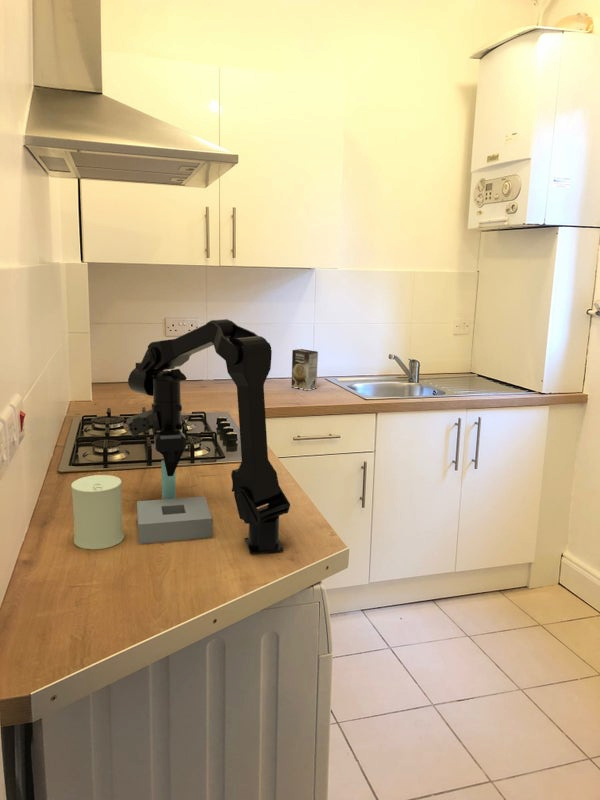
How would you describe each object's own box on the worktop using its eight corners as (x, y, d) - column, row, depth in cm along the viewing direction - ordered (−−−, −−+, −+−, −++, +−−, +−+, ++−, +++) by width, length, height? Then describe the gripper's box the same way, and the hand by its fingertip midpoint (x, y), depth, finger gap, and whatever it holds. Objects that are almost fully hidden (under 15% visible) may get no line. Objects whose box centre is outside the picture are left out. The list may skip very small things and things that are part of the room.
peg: (176, 506, 141) (175, 463, 139) (162, 507, 141) (161, 463, 138) (175, 501, 144) (174, 458, 142) (161, 502, 143) (160, 459, 141)
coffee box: (290, 388, 271) (291, 349, 267) (300, 385, 275) (301, 348, 272) (307, 391, 265) (308, 352, 261) (317, 389, 270) (318, 350, 266)
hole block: (212, 537, 126) (212, 518, 125) (139, 544, 123) (138, 524, 122) (204, 513, 138) (204, 496, 137) (137, 519, 134) (136, 501, 133)
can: (76, 553, 119) (72, 491, 116) (72, 533, 127) (68, 475, 124) (127, 545, 122) (125, 485, 120) (120, 526, 130) (117, 470, 128)
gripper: (127, 391, 144) (130, 458, 147) (128, 411, 126) (131, 486, 130) (178, 390, 147) (179, 455, 150) (185, 408, 129) (187, 482, 133)
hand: (168, 469), depth 141 cm, fingers open, 9 cm apart
